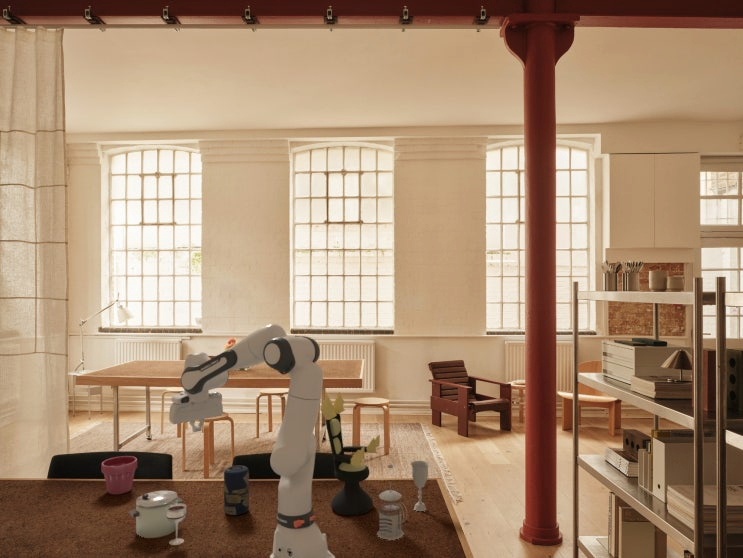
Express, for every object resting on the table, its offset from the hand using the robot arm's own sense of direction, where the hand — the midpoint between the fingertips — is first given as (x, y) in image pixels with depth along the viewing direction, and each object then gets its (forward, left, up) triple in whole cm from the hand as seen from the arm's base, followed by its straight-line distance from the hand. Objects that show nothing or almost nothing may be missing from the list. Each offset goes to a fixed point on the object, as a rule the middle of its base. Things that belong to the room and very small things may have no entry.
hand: (197, 431), depth 215 cm
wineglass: (-14, +14, -33) cm, 38 cm away
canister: (-5, -14, -33) cm, 36 cm away
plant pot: (+48, +14, -33) cm, 60 cm away
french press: (-59, -47, -33) cm, 82 cm away
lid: (0, +15, -22) cm, 27 cm away
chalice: (-50, -70, -33) cm, 92 cm away
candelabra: (-30, -49, -33) cm, 66 cm away
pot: (0, +15, -33) cm, 36 cm away
